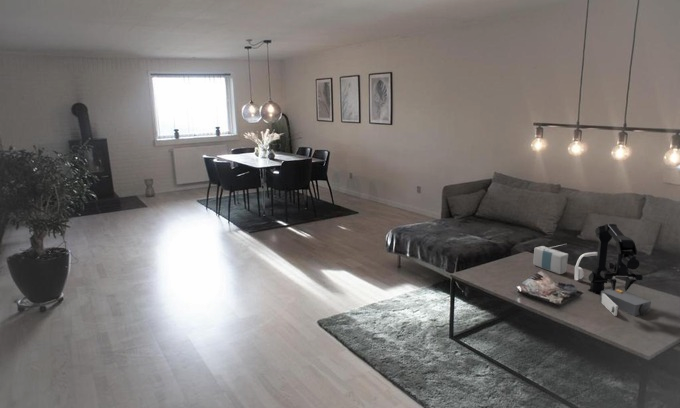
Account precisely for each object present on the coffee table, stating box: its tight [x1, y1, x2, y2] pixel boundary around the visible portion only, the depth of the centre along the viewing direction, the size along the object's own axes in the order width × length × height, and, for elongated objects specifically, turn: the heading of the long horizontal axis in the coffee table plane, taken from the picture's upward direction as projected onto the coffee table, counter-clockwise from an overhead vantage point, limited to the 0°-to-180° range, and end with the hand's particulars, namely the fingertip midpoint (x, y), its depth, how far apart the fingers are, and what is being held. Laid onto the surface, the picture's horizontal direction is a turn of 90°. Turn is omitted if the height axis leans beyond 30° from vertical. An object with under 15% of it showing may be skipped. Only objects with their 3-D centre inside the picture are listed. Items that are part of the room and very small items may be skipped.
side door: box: [600, 293, 619, 317], centre depth 248 cm, size 17×2×6 cm, turn 173°
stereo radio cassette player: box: [532, 243, 569, 275], centre depth 304 cm, size 21×8×20 cm, turn 28°
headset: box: [573, 251, 598, 281], centre depth 287 cm, size 20×7×18 cm, turn 102°
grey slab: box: [599, 287, 652, 317], centre depth 250 cm, size 21×12×7 cm, turn 23°
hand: (619, 290), depth 243 cm, fingers open, 6 cm apart
